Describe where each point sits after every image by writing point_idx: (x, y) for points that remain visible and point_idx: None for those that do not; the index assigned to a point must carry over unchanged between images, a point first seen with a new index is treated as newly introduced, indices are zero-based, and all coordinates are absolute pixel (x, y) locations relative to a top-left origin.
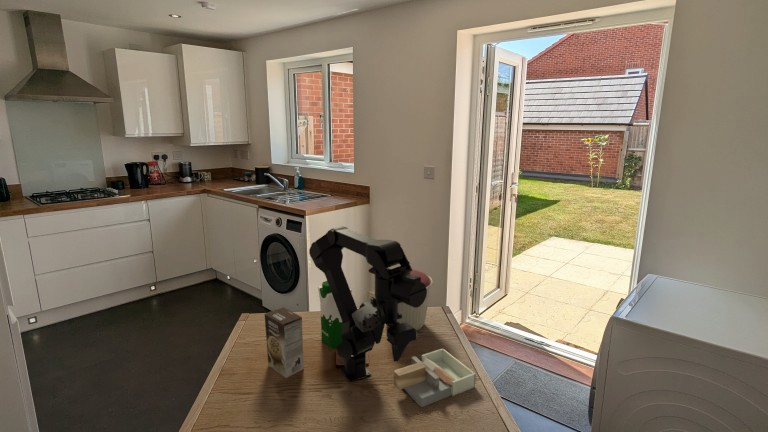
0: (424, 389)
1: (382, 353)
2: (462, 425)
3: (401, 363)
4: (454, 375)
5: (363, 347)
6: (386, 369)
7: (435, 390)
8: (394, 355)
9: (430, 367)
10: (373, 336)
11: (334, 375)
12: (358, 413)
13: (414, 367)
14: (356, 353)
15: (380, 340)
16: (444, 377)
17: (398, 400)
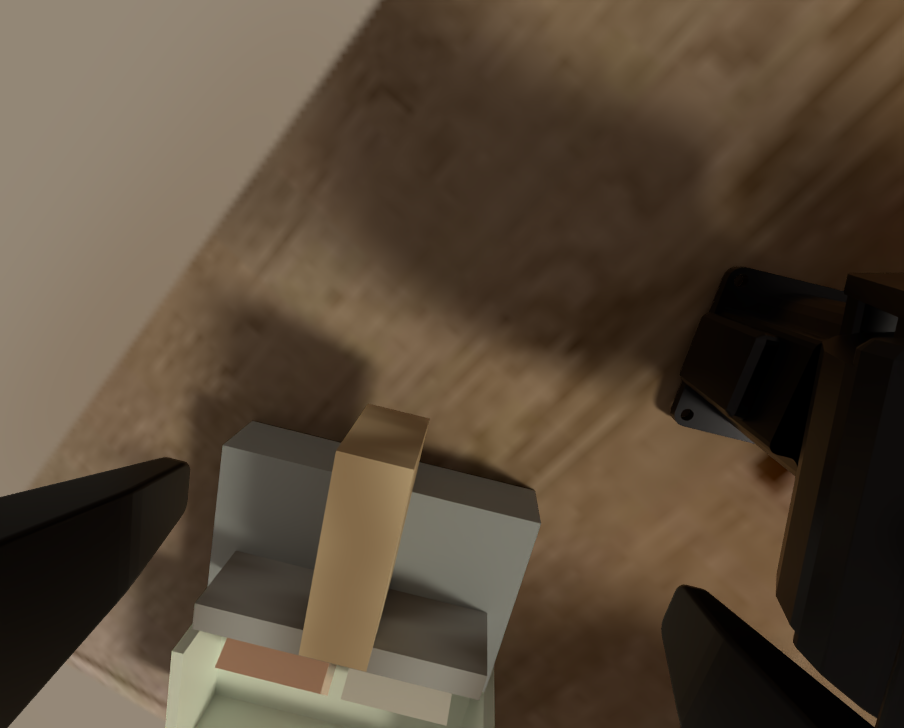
0: (273, 513)
1: (773, 612)
2: (46, 463)
3: (607, 613)
4: (323, 702)
5: (824, 453)
6: (635, 520)
7: (229, 547)
8: (24, 493)
9: (377, 675)
10: (858, 679)
11: (881, 234)
12: (445, 104)
13: (342, 601)
14: (833, 345)
15: (668, 665)
16: (242, 654)
17: (373, 373)
